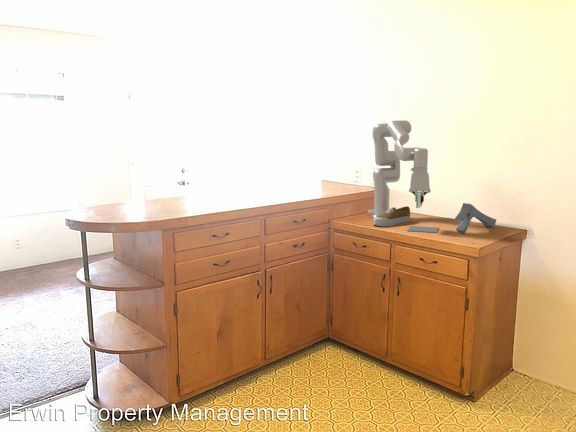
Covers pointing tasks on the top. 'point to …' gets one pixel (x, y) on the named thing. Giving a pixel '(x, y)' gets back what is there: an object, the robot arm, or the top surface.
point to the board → (418, 199)
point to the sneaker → (393, 217)
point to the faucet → (470, 212)
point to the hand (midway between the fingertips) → (419, 202)
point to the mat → (423, 229)
